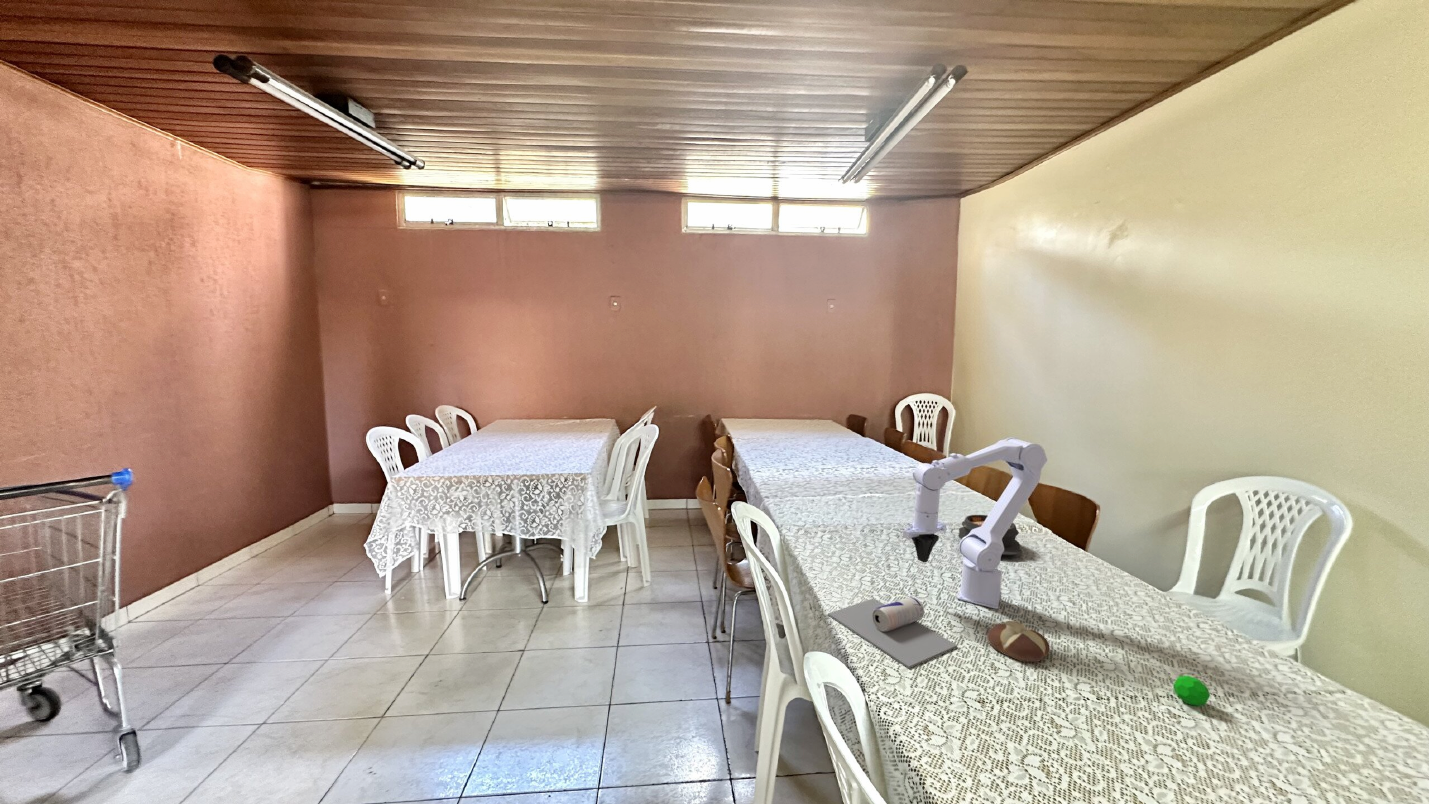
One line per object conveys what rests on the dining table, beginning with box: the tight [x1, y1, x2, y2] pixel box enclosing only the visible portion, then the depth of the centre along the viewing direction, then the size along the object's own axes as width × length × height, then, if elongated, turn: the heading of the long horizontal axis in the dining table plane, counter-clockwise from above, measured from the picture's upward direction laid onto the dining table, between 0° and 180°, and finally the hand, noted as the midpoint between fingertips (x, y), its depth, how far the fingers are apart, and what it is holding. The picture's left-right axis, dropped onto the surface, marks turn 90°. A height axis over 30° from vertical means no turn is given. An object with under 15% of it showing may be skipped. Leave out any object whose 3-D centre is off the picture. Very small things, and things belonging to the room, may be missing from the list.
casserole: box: [958, 514, 1023, 556], centre depth 174 cm, size 25×19×8 cm
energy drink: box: [872, 596, 925, 632], centre depth 122 cm, size 5×5×12 cm
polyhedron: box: [1172, 675, 1211, 707], centre depth 97 cm, size 5×5×5 cm
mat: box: [827, 598, 958, 670], centre depth 120 cm, size 16×24×1 cm, turn 30°
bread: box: [987, 620, 1051, 663], centre depth 114 cm, size 11×11×5 cm
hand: (922, 560), depth 135 cm, fingers closed
